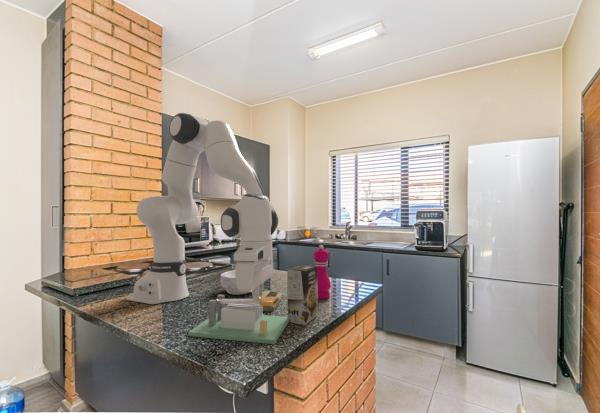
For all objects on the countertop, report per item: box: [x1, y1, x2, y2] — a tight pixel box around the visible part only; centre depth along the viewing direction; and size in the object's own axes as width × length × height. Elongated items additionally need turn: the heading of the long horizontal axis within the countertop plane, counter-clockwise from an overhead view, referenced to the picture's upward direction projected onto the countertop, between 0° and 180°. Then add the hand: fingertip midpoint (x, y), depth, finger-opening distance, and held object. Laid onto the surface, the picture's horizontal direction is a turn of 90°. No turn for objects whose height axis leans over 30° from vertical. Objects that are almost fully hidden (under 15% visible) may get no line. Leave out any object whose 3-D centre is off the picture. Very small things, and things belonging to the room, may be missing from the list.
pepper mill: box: [313, 244, 332, 300], centre depth 112 cm, size 7×7×20 cm
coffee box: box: [286, 264, 319, 326], centre depth 90 cm, size 9×6×16 cm
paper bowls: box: [220, 269, 251, 296], centre depth 119 cm, size 15×15×8 cm
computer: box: [261, 289, 284, 313], centre depth 104 cm, size 16×8×3 cm, turn 172°
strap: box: [215, 297, 279, 306], centre depth 82 cm, size 19×5×1 cm, turn 78°
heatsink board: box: [187, 294, 290, 345], centre depth 82 cm, size 24×16×8 cm, turn 78°
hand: (257, 299), depth 81 cm, fingers closed, pressing on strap
